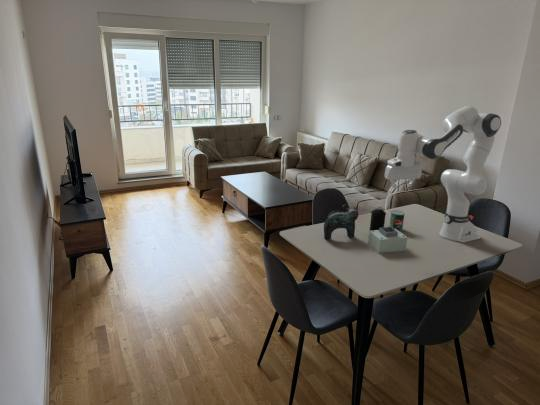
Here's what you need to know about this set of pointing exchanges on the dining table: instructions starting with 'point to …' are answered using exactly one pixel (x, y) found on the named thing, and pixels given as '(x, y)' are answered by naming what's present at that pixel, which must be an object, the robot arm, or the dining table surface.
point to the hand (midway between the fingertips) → (401, 186)
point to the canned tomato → (397, 220)
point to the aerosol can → (377, 219)
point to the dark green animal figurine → (341, 222)
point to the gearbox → (387, 240)
